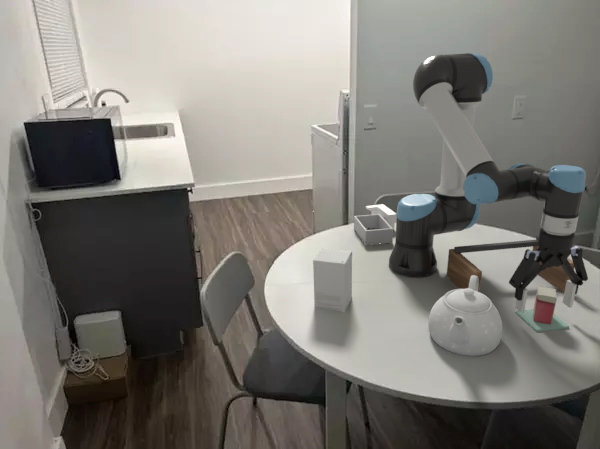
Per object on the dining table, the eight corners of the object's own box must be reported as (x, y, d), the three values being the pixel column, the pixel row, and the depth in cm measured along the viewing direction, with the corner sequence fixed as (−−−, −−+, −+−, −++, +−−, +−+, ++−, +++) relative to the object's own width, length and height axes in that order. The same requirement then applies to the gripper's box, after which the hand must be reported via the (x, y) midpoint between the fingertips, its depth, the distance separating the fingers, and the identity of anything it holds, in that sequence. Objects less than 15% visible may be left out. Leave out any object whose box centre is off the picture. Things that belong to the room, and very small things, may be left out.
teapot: (521, 351, 109) (530, 300, 105) (452, 367, 105) (458, 315, 100) (472, 311, 126) (477, 266, 121) (411, 324, 122) (414, 277, 117)
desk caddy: (365, 246, 169) (365, 231, 167) (353, 230, 184) (354, 216, 182) (392, 244, 170) (393, 228, 168) (378, 228, 185) (379, 214, 183)
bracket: (382, 220, 194) (365, 222, 192) (383, 204, 191) (365, 206, 189) (396, 231, 182) (378, 233, 180) (397, 214, 179) (378, 216, 177)
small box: (532, 311, 124) (537, 285, 121) (550, 315, 122) (556, 288, 119) (532, 321, 120) (537, 294, 117) (551, 325, 118) (557, 297, 115)
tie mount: (471, 302, 131) (475, 272, 127) (446, 276, 145) (449, 249, 142) (569, 291, 134) (575, 262, 131) (535, 267, 149) (539, 241, 146)
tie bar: (457, 254, 138) (457, 246, 137) (453, 250, 140) (454, 243, 140) (547, 245, 142) (548, 238, 141) (542, 242, 144) (543, 235, 143)
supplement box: (352, 298, 135) (353, 250, 129) (345, 313, 127) (345, 264, 122) (322, 293, 138) (322, 247, 132) (313, 308, 130) (312, 260, 124)
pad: (535, 332, 116) (536, 329, 116) (515, 313, 125) (515, 311, 125) (568, 328, 118) (569, 326, 117) (546, 309, 126) (546, 307, 126)
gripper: (519, 240, 107) (506, 320, 115) (615, 231, 110) (597, 310, 118) (501, 228, 114) (490, 304, 122) (592, 221, 117) (577, 295, 125)
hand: (543, 307), depth 120 cm, fingers open, 13 cm apart
